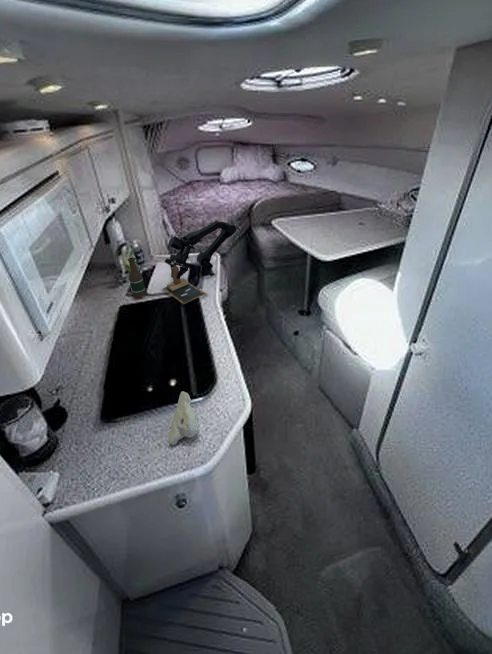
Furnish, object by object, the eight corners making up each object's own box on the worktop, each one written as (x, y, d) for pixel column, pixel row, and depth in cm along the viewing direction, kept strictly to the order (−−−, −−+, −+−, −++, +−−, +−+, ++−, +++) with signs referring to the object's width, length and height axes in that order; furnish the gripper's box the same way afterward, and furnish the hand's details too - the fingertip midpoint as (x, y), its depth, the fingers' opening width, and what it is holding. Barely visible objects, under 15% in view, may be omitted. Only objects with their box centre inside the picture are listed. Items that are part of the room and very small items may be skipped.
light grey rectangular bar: (181, 295, 189) (180, 295, 189) (186, 293, 190) (186, 293, 190) (181, 296, 188) (181, 295, 188) (187, 294, 190) (187, 293, 190)
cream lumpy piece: (192, 456, 107) (215, 412, 110) (173, 451, 104) (197, 405, 107) (176, 434, 120) (196, 395, 123) (158, 428, 116) (180, 388, 120)
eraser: (167, 288, 197) (163, 269, 190) (183, 282, 203) (180, 262, 196) (172, 292, 193) (168, 272, 186) (188, 285, 199) (185, 266, 192)
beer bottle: (135, 292, 197) (126, 255, 186) (148, 292, 197) (140, 255, 185) (131, 299, 190) (121, 261, 179) (144, 299, 190) (135, 261, 178)
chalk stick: (185, 291, 193) (185, 290, 193) (189, 288, 195) (189, 288, 195) (186, 291, 193) (185, 291, 192) (190, 289, 195) (190, 288, 195)
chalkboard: (162, 290, 198) (162, 288, 197) (184, 281, 206) (184, 279, 206) (183, 306, 182) (183, 304, 181) (206, 295, 190) (206, 293, 189)
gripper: (163, 245, 193) (153, 270, 190) (189, 250, 185) (179, 276, 182) (174, 252, 203) (165, 276, 200) (199, 257, 195) (190, 282, 192)
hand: (174, 278), depth 193 cm, fingers closed on eraser, 4 cm apart
